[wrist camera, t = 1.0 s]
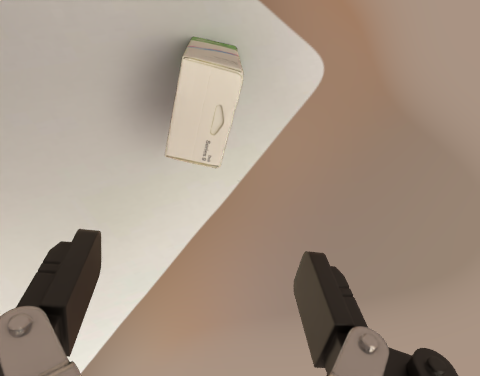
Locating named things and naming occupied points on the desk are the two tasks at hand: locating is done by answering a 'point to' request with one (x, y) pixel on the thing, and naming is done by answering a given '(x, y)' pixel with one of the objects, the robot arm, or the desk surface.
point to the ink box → (204, 102)
